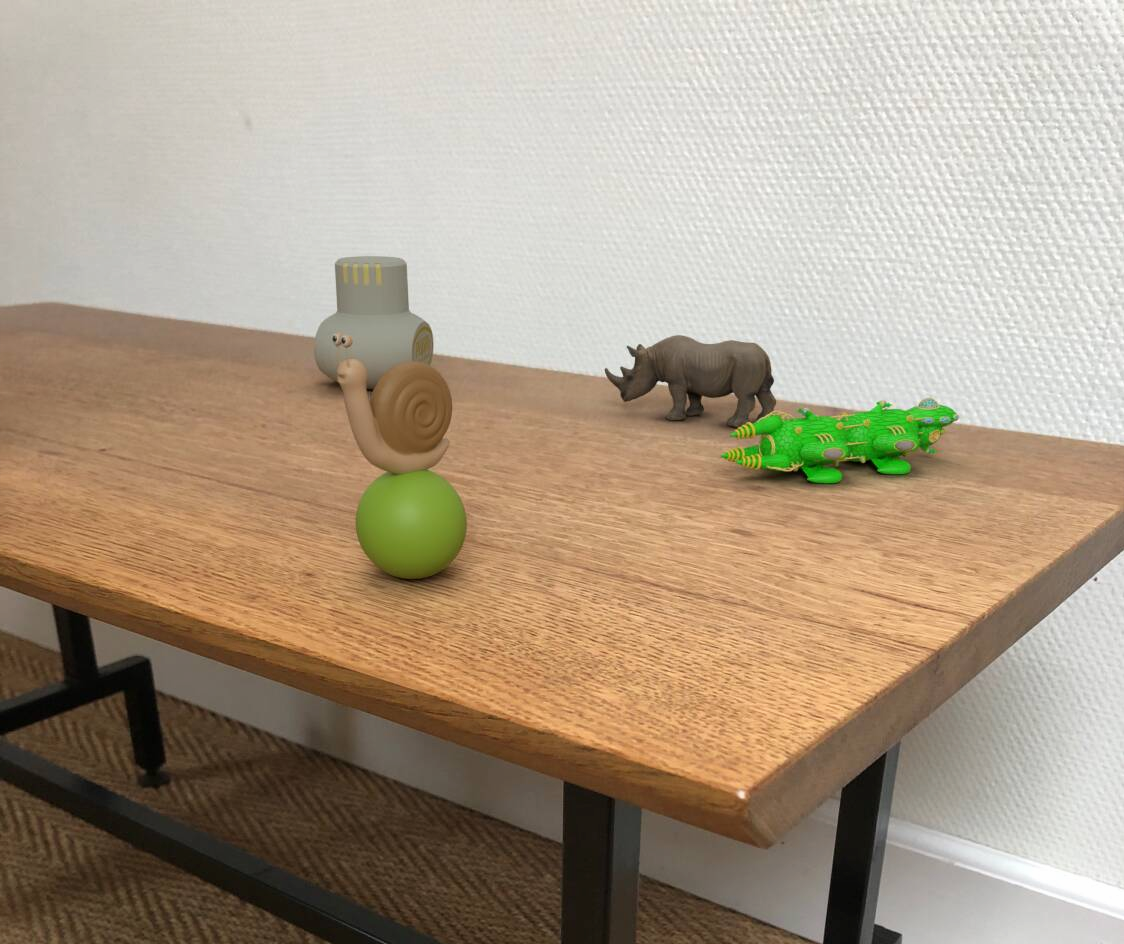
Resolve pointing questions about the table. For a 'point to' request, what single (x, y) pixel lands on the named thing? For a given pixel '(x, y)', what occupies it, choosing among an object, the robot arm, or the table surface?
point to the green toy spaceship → (842, 439)
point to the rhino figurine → (701, 375)
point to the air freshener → (373, 319)
